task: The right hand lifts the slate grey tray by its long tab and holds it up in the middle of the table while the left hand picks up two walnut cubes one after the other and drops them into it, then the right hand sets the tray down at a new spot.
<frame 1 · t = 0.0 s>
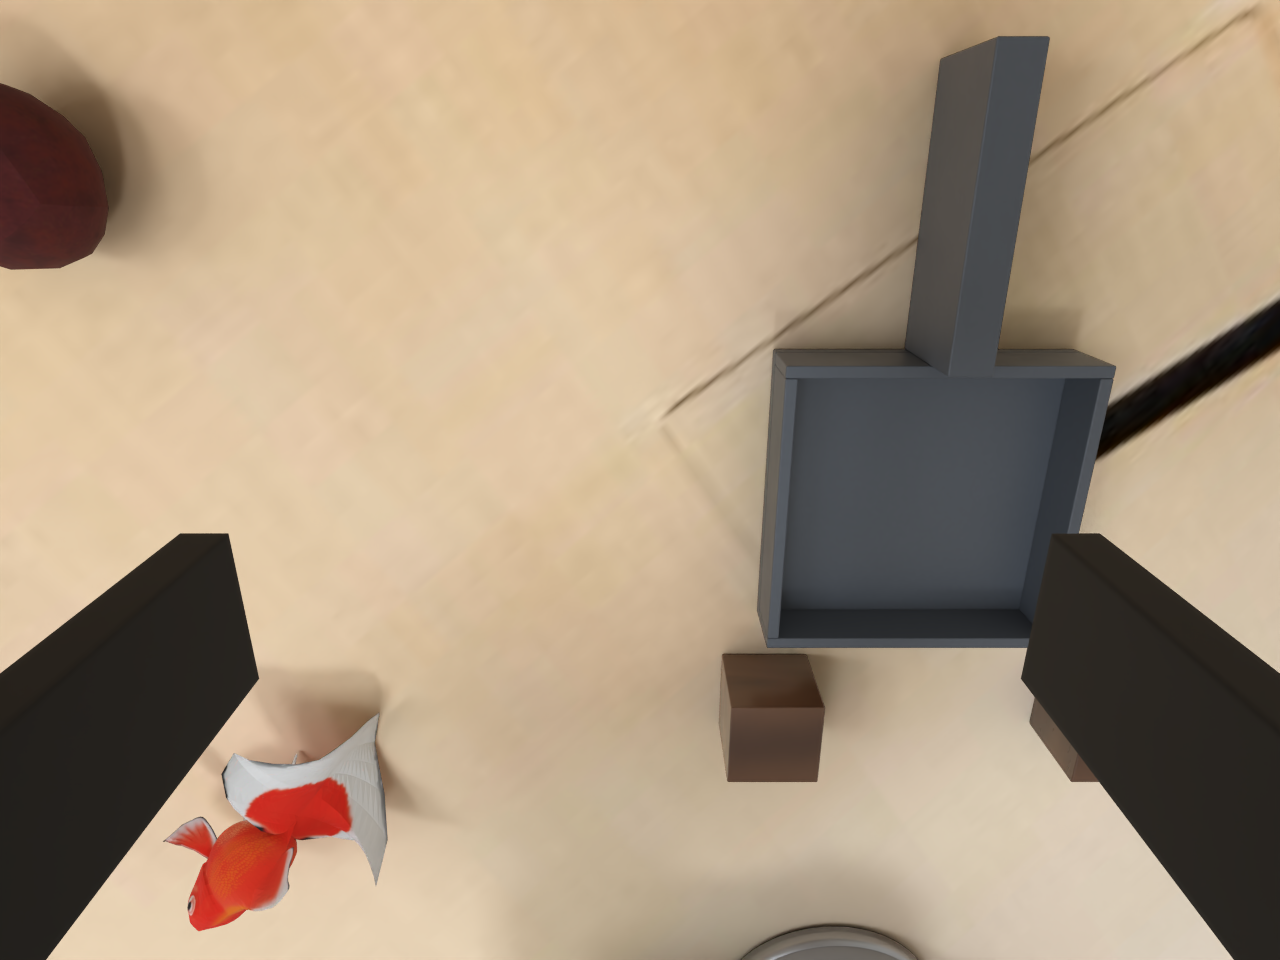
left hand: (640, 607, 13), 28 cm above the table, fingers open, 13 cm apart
fish: (311, 768, 49), on the table
cube a: (1078, 689, 47), on the table
cube b: (761, 689, 47), on the table
dark red ball: (64, 180, 36), on the table
tray: (905, 488, 42), on the table
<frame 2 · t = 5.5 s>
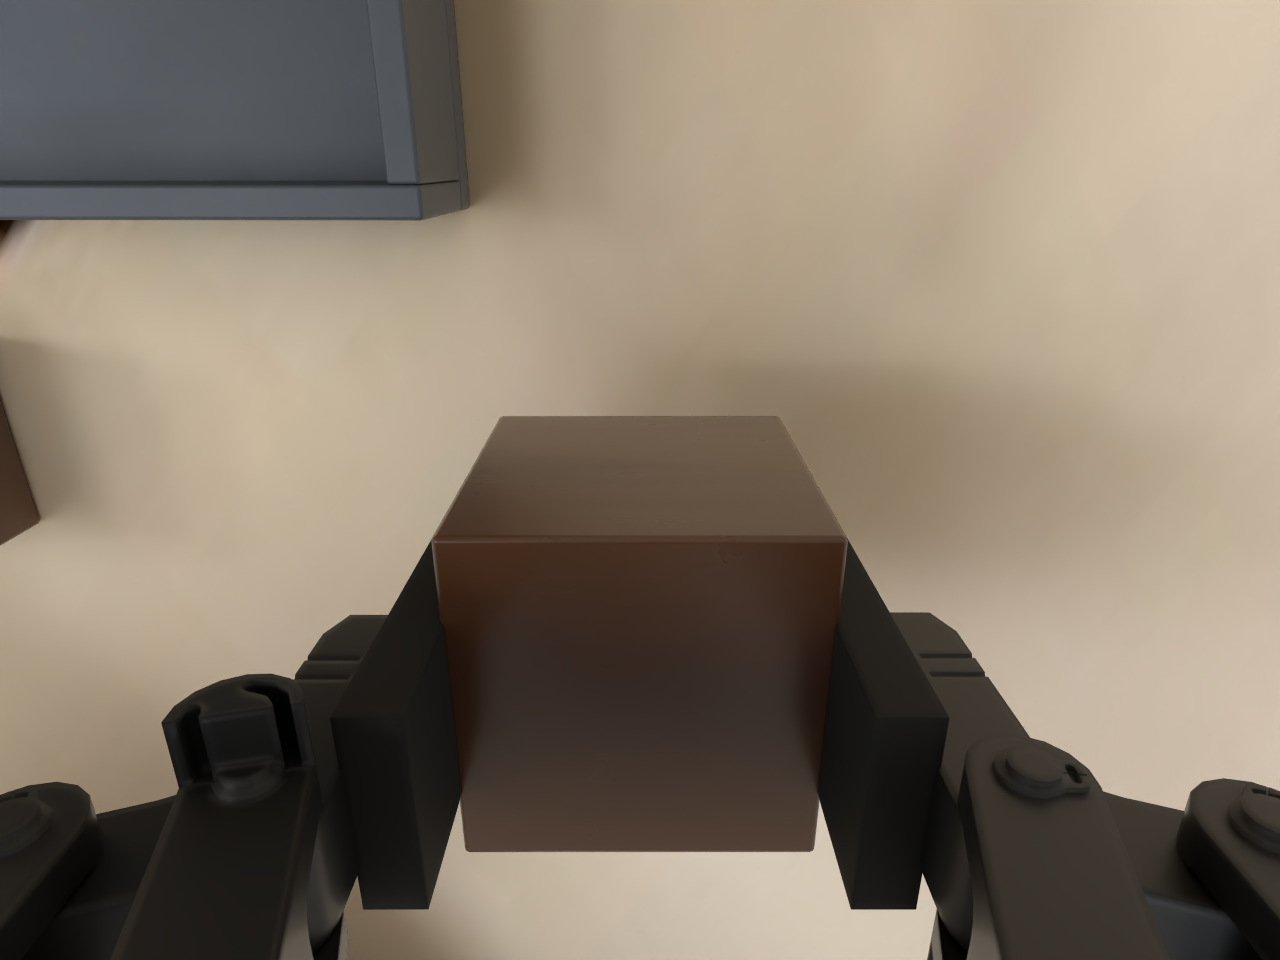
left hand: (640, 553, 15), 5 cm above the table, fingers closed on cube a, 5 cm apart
cube a: (639, 541, 15), point 5 cm above the table, touching left hand
when the left hand's fingers open (15 cm above the table, at t = 11.3 s): cube a drops 3 cm, resting on tray.
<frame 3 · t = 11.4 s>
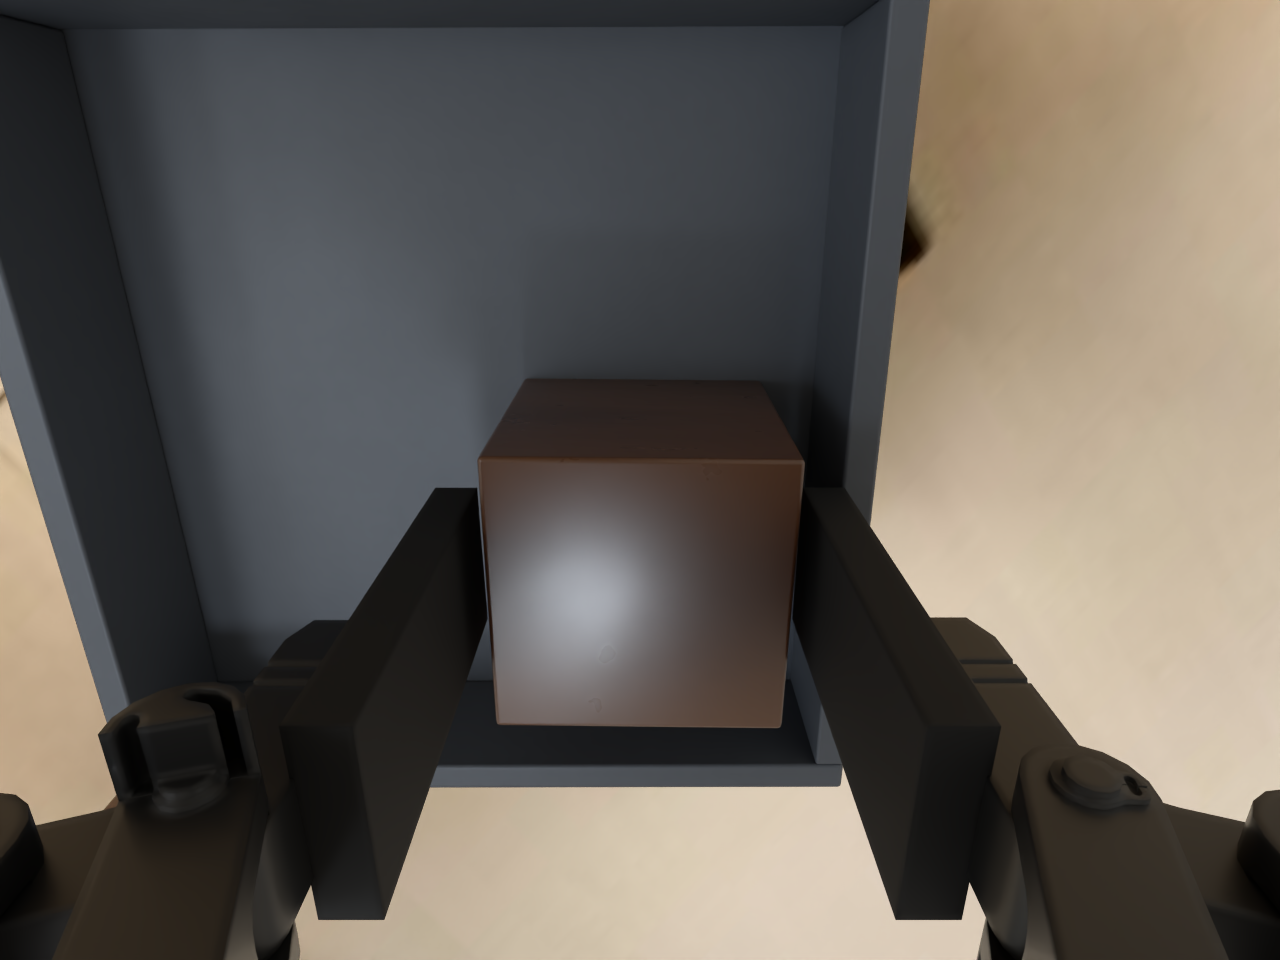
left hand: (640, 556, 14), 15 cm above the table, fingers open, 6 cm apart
cube a: (641, 488, 17), point 12 cm above the table, touching tray
tray: (489, 394, 17), point 11 cm above the table, touching cube a, left hand, right hand
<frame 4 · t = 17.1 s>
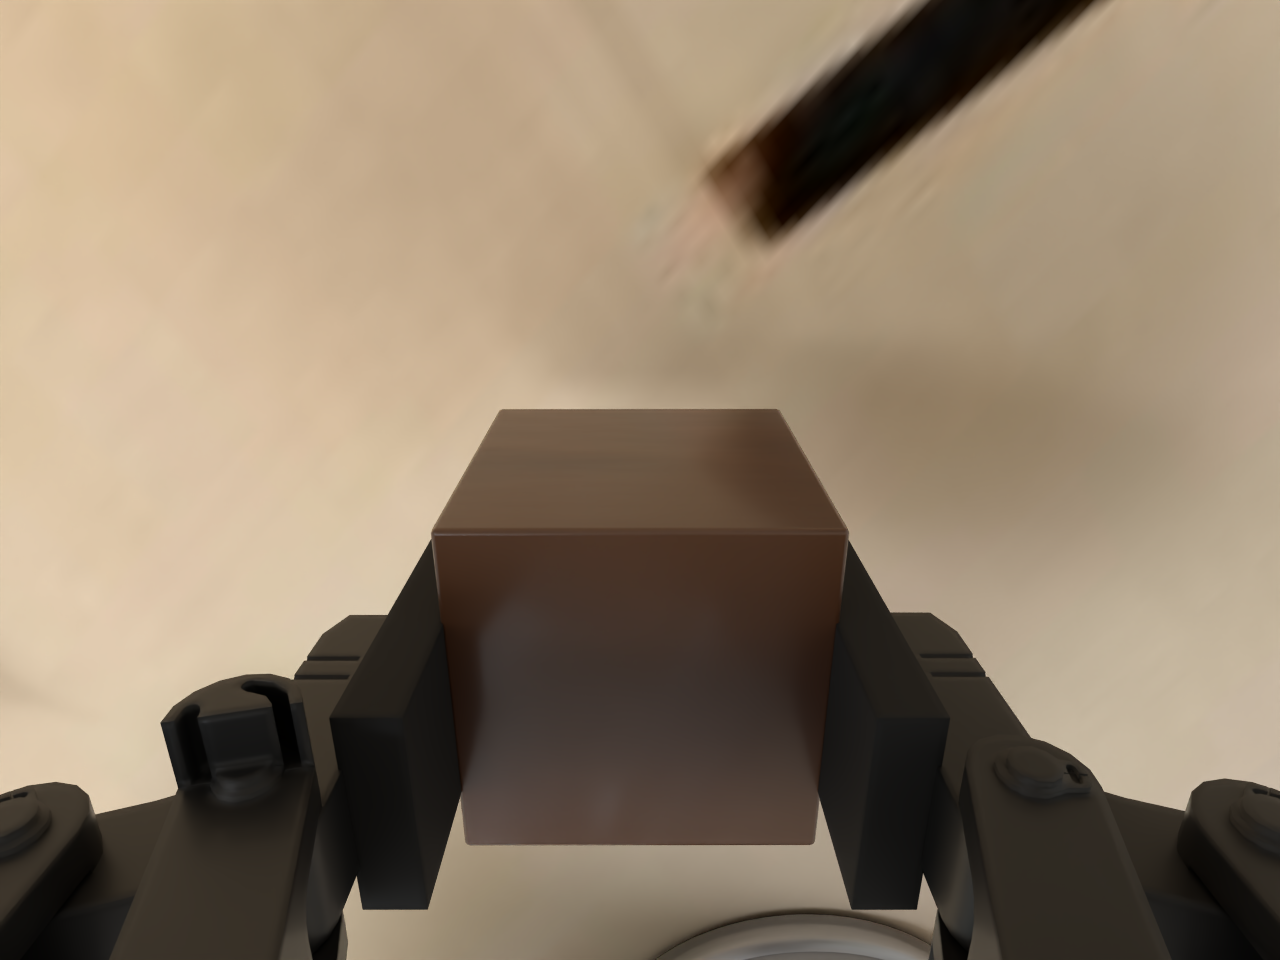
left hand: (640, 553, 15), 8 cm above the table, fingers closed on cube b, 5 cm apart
cube b: (639, 534, 15), point 7 cm above the table, touching left hand
when the left hand's fingers open (15 cm above the table, at t = 19.9 s): cube b drops 3 cm, resting on tray.
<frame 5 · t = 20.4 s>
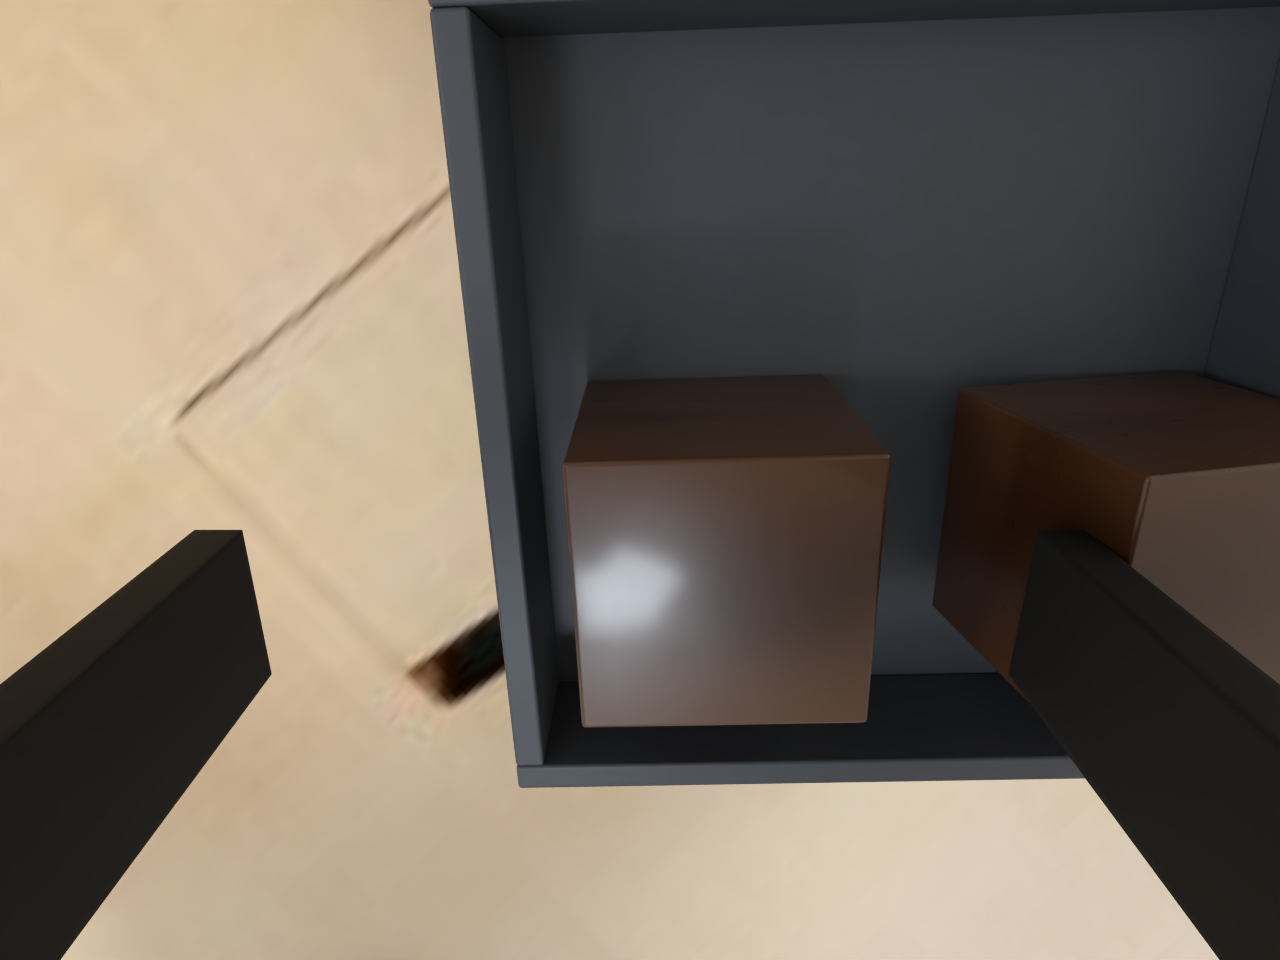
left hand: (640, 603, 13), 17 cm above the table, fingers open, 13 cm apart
cube a: (1051, 491, 17), point 12 cm above the table, tilted 10°, touching left hand, tray
cube b: (705, 486, 17), point 12 cm above the table, touching tray
tray: (854, 389, 17), point 11 cm above the table, touching cube a, cube b, right hand
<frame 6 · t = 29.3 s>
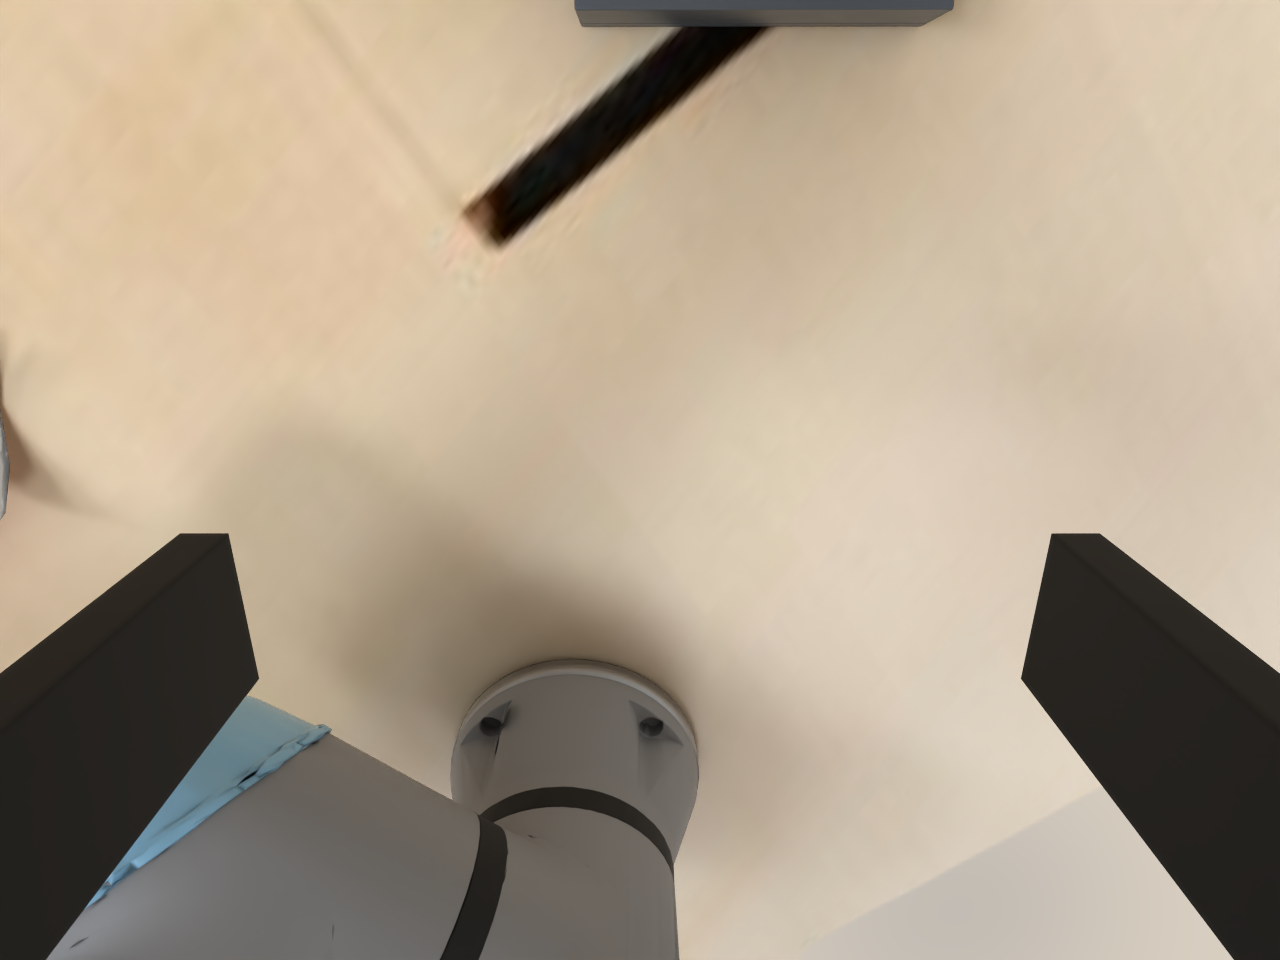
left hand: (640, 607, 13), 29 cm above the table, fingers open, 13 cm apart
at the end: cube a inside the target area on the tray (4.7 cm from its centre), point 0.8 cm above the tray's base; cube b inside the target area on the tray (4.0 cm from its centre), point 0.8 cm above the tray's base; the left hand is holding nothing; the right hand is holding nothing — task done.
